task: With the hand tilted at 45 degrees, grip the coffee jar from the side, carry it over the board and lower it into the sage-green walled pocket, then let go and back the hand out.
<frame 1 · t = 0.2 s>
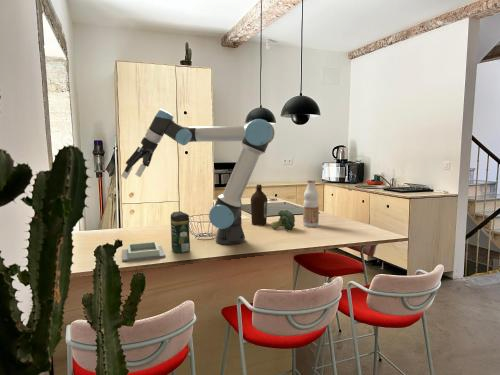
hand: (130, 176, 175), 34 cm above the countertop, tool tilted 30°, fingers open, 13 cm apart
coffee jar: (180, 251, 168), on the countertop
fruit juice: (310, 225, 220), on the countertop
jar dock: (143, 254, 163), on the countertop
vegetable: (283, 229, 211), on the countertop
olive oil: (259, 224, 226), on the countertop
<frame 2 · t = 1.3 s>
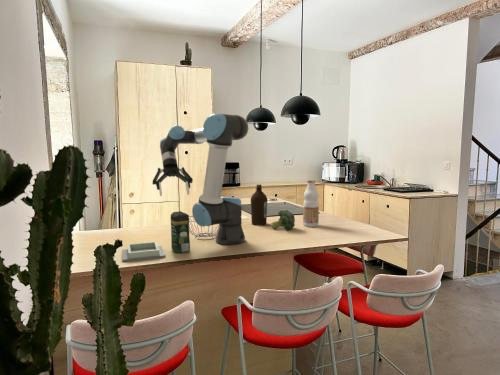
hand: (174, 193, 178), 26 cm above the countertop, tool tilted 45°, fingers open, 13 cm apart
nothing on the countertop moved.
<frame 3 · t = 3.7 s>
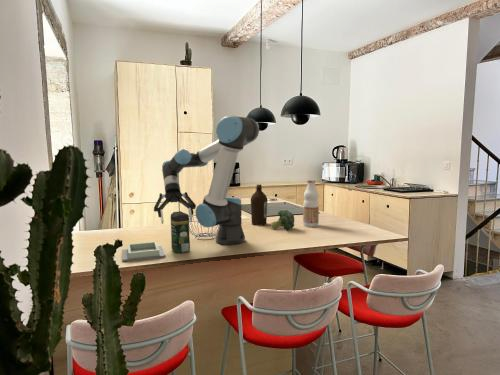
hand: (177, 221, 170), 14 cm above the countertop, tool tilted 45°, fingers open, 13 cm apart
nothing on the countertop moved.
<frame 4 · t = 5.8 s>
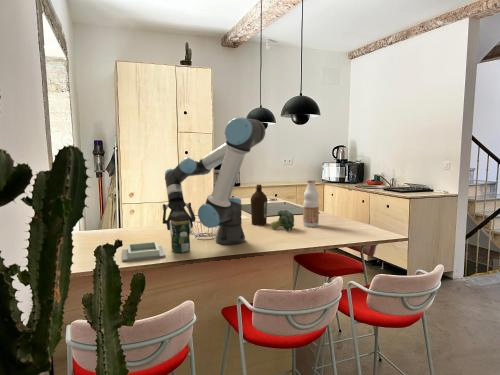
hand: (181, 234, 164), 9 cm above the countertop, tool tilted 45°, fingers closed on coffee jar, 8 cm apart
coffee jar: (180, 251, 168), on the countertop, touching gripper
everything else where it was.
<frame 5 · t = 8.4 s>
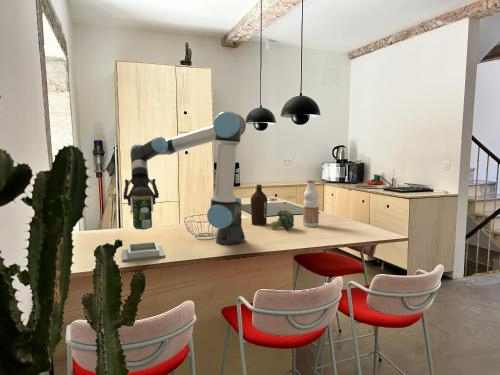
hand: (142, 210, 158), 21 cm above the countertop, tool tilted 45°, fingers closed on coffee jar, 8 cm apart
coffee jar: (142, 228, 162), point 12 cm above the countertop, touching gripper
everything else where it was.
when the fingers open (11 cm above the countertop, at t = 11.1 s): coffee jar drops 1 cm, resting on jar dock.
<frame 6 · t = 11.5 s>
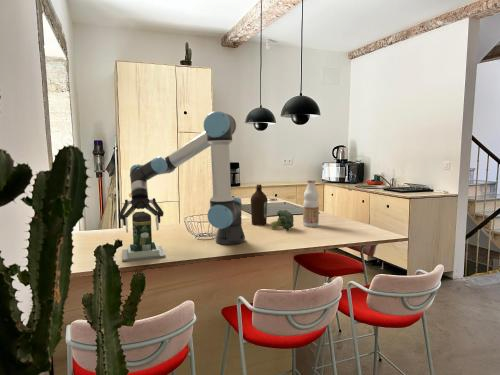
hand: (142, 229, 159), 12 cm above the countertop, tool tilted 45°, fingers open, 12 cm apart
coffee jar: (142, 252, 163), point 1 cm above the countertop, touching jar dock
everything else where it was.
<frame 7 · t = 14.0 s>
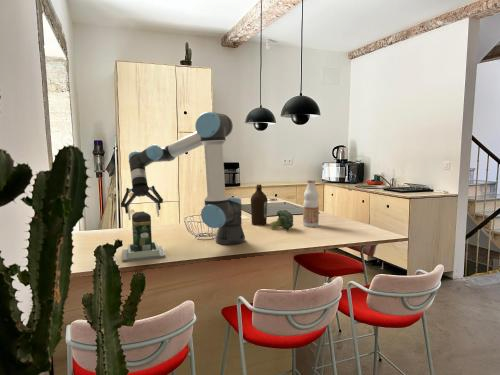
hand: (144, 217, 174), 15 cm above the countertop, tool tilted 35°, fingers open, 13 cm apart
nothing on the countertop moved.
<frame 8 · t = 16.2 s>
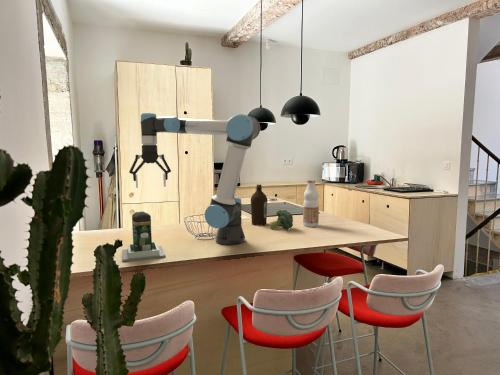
hand: (151, 187, 180), 29 cm above the countertop, tool pointing down, fingers open, 13 cm apart
at the end: coffee jar 0.3 cm off-centre on the jar dock, point 0.8 cm above the jar dock's base; coffee jar tilted 0°; the gripper is holding nothing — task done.
